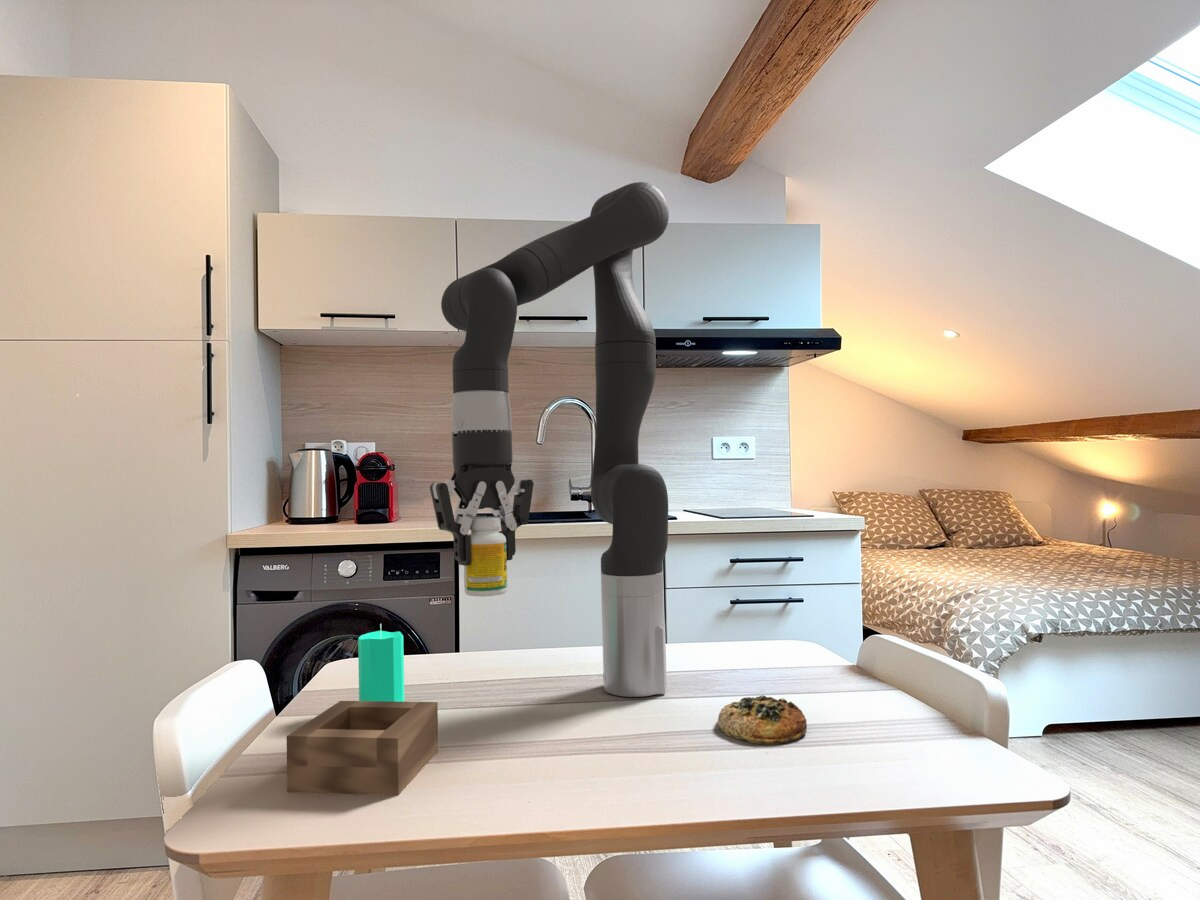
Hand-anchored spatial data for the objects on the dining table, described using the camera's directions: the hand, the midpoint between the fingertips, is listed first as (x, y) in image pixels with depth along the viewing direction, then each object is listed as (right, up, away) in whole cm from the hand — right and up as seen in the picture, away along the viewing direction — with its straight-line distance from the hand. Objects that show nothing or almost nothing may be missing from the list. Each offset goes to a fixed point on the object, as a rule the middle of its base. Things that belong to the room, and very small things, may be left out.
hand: (485, 561), depth 95 cm
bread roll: (+34, -21, -2) cm, 40 cm away
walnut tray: (-11, -21, -12) cm, 27 cm away
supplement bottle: (0, -4, 0) cm, 4 cm away
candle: (-16, -22, +8) cm, 28 cm away
